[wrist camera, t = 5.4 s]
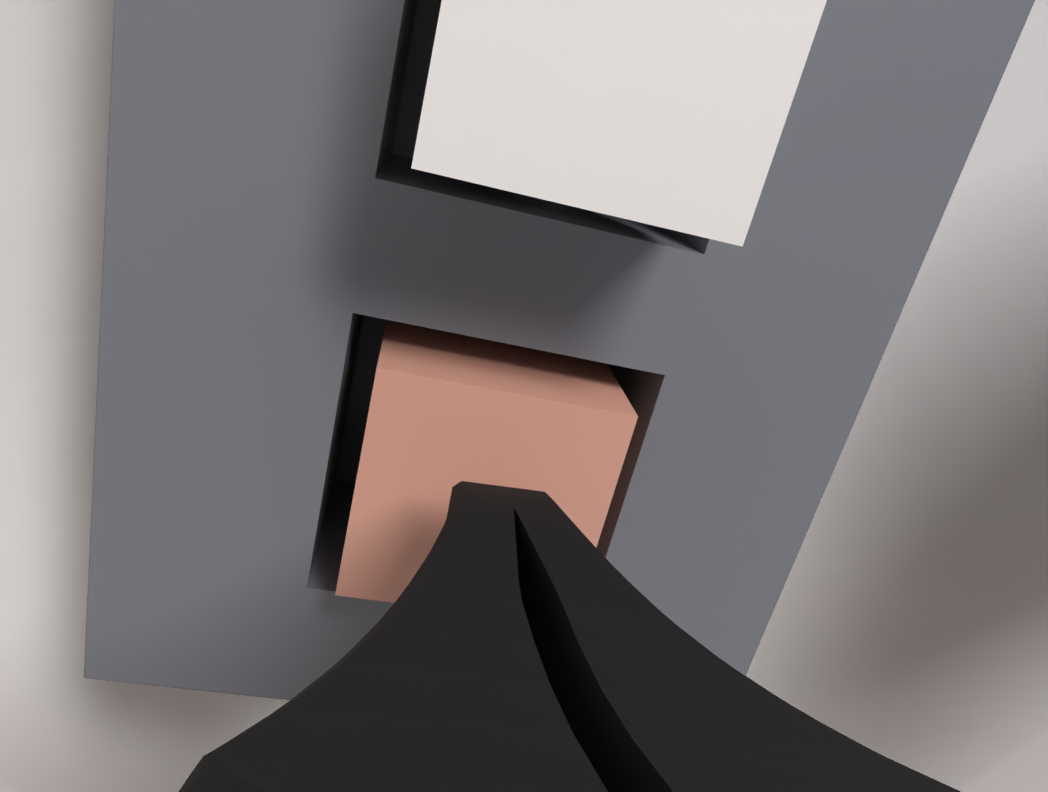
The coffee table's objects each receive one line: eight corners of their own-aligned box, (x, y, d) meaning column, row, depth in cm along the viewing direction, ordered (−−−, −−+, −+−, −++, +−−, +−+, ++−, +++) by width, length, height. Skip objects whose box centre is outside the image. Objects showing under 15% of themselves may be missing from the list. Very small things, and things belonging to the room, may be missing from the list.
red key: (600, 352, 14) (638, 416, 12) (548, 531, 16) (571, 626, 13) (389, 310, 14) (376, 368, 11) (354, 501, 15) (334, 594, 12)
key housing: (1133, -705, 11) (1529, -1153, 7) (657, 606, 20) (715, 745, 16) (314, -1144, 9) (212, -2141, 5) (168, 537, 18) (83, 678, 13)
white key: (760, -81, 11) (873, -137, 8) (672, 208, 12) (743, 246, 9) (476, -172, 10) (490, -269, 7) (418, 146, 11) (410, 167, 8)
